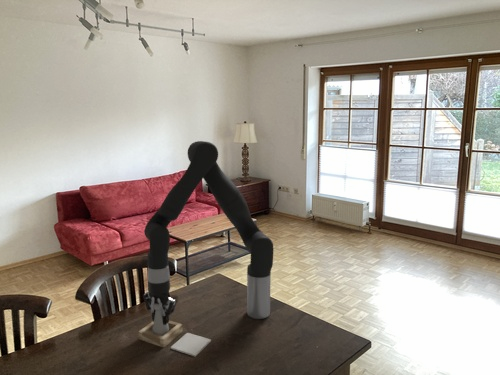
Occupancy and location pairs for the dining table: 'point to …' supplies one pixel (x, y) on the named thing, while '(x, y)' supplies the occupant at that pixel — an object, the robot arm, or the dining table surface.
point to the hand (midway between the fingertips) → (160, 322)
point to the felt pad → (191, 344)
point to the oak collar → (155, 339)
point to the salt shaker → (159, 322)
